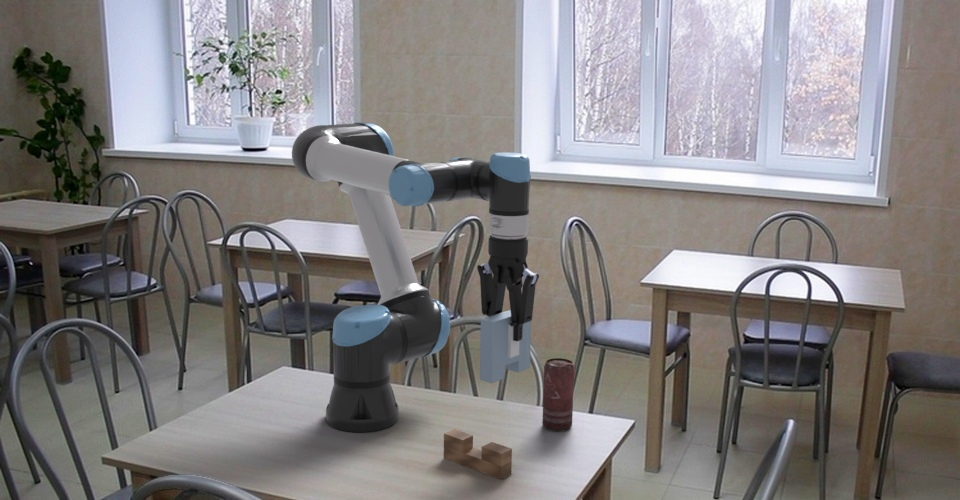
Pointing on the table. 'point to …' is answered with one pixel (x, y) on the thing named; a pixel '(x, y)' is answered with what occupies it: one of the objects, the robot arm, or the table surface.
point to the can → (558, 394)
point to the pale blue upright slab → (501, 348)
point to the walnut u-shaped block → (477, 454)
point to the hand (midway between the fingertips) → (505, 353)
